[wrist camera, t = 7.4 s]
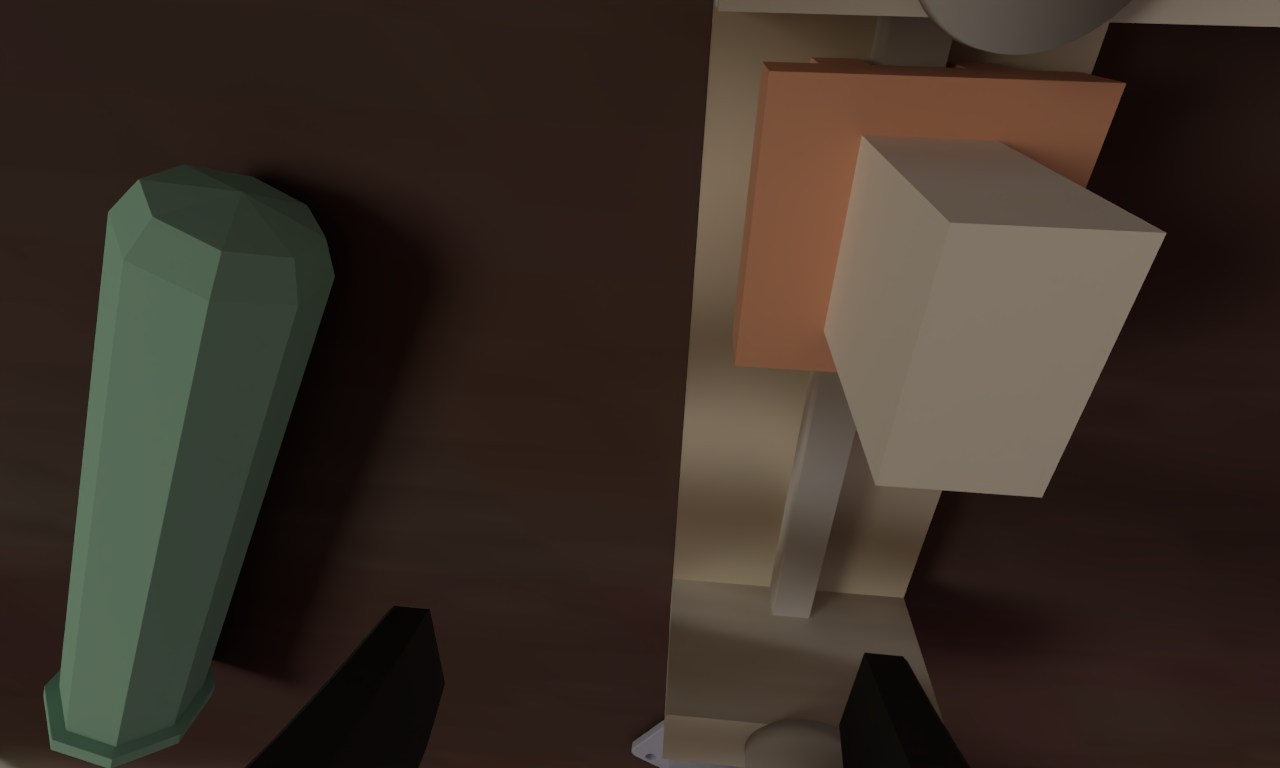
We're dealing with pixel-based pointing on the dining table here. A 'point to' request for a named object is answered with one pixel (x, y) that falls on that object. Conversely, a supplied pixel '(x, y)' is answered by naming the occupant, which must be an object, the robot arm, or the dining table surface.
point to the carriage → (939, 259)
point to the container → (178, 445)
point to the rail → (814, 402)
